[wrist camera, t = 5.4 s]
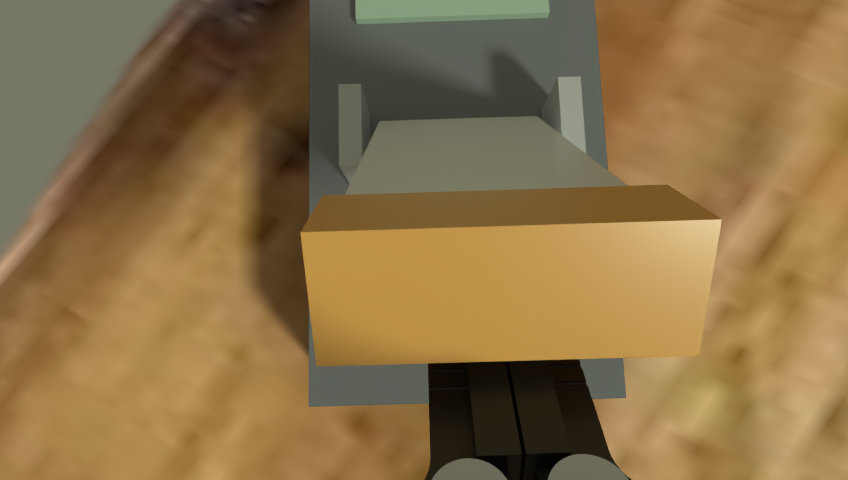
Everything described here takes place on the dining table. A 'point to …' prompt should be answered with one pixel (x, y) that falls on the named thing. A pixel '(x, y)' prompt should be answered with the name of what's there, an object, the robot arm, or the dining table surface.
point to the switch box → (443, 116)
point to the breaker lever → (501, 252)
